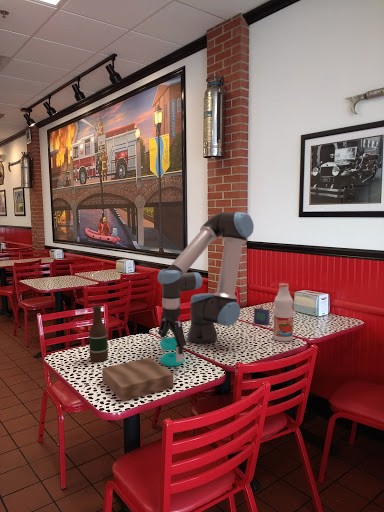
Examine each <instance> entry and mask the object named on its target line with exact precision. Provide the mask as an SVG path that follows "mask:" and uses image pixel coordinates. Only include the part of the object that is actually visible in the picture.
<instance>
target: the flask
mask: <svg viewBox="0 0 384 512" xmlns="http://www.w3.org/2000/svg"><path fill="white" fill-rule="evenodd" d="M270 312H271V310H270V308H264V305H260V306H256V307H254V308H253V324H254V325H255V324H256V325H263V326H269V325H271V323H270V316H271V313H270Z"/></svg>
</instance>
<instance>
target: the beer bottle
mask: <svg viewBox="0 0 384 512" xmlns="http://www.w3.org/2000/svg"><path fill="white" fill-rule="evenodd" d="M92 310H93V315H92V316H93V317H92V318H93V319H92V325H91V327H90V328H89V331H88V346H89V347H88V348H89V360H90V362H92V363H103V362H105V361H107V359H108V357H109V348H108V347H109V346H108V330H107V327H106V326H105V325H104V323H103V318H102V317H103V316H102V306H101V305H99V304H97V305H93V306H92Z"/></svg>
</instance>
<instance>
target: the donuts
mask: <svg viewBox="0 0 384 512" xmlns="http://www.w3.org/2000/svg"><path fill="white" fill-rule="evenodd" d="M159 345H160V348H161V347H162V348H163V349H165V350H167V351H168V352H166V353H164V354H163V355H162V356H160V363H161V364H162V366H163V365H164V366H166V367H176V366H180V365H181V364H183V363H184V361H185V360H184V359H185V358H184V357H183V361H180V362H176V346H177V343H176V340H175V337H174V336H173V337H171V336H170V337H167V338H165V339H163V340H162V341H161V340H160V342H159ZM169 351H170V352H169ZM171 351H172V352H171ZM174 351H175V352H174Z"/></svg>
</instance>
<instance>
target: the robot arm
mask: <svg viewBox="0 0 384 512" xmlns="http://www.w3.org/2000/svg"><path fill="white" fill-rule="evenodd" d="M199 230H200V231H199V232H198V233H197V234H196V235H195V237H194V238H192V240H191V242H190V243H189V244H188V245H187V246H186V247H185V248H184V249H183V250H182V252H181V253H180V254H179V255H178V256H177V258H176V259H175V260H174V261H173V262H172V263H171V265H170V266H169V267H168V268H163V269H161V270H160V271H159V272H158V274H157V281H158V283H159V284H160V285H161V291H162V292H161V294H162V296H161V297H162V298H161V304H162V308H161V309H162V310H161V311H162V313H161V314H162V315H161V317H160V318H161V319H160V322H159V327H158V331H157V334H158V335H159V337H160V342H161V341H162V340H163V339H165V338H168V332H169V331H171V333H172V335H173V337H175V340H176V343H177V346H176V350H175V353H176V362H180V361H183V358H184V347H185V346H187V341H189V342H190V343H194V344H199V345H200V344H201V345H203V344H205V345H206V344H211V343H215V342H217V341H218V332H217V329H216V326H215V324H218V325H219V326H225V327H231V326H233V325H234V324H235V323H237V322H238V320H239V318H240V316H241V307H240V304H239V303H238V302H237V301H238V297H237V296H236V294H235V293H236V286H237V283H238V282H237V281H238V274H239V269H240V264H241V263H240V262H241V256H242V251H243V245H244V244H246V243H247V239H248V238H250V237H251V236H252V234H253V233H254V221H253V219H252V217H251V215H249V213H247V212H242V211H233V212H232V211H231V212H229V211H228V212H225V211H222V212H219V213H216V214H214V215H213V216H211V217H210V218H209V219H208V220H206V221H205V223H204V224H202V226H200V229H199ZM220 237H222V240H223V241H224V244H223V250H222V251H223V252H222V258H221V262H220V263H221V264H220V270H219V275H218V281H217V286H216V287H217V288H216V292H213V293H211V292H206V293H205V292H204V293H198V294H197V293H196V294H193V295H191V298H190V303H189V304H190V306H189V307H190V308H189V309H190V326H189V330H188V333H187V341H186V337H185V333H184V329H183V322H182V321H179V320H178V319H179V317H180V316H181V308H180V307H181V292H189V291H195V290H198V289H200V288H201V287H202V285H203V277H202V275H201V273H199V272H197V271H196V272H195V271H191V272H188V270H189V269H190V268H191V267H192V265H194V263H195V262H196V261H198V258H199V257H200V256H201V255H202V254H203V252H204V251H205V250H206V249H207V248H208V246H209V245H210V244H211V243H212V242H215V241H216V240H217V239H218V238H220ZM160 352H161V353H165V352H166V353H167V352H168V350H165V349H163V348H162V347H161V346H160ZM183 362H184V361H183Z"/></svg>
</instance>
